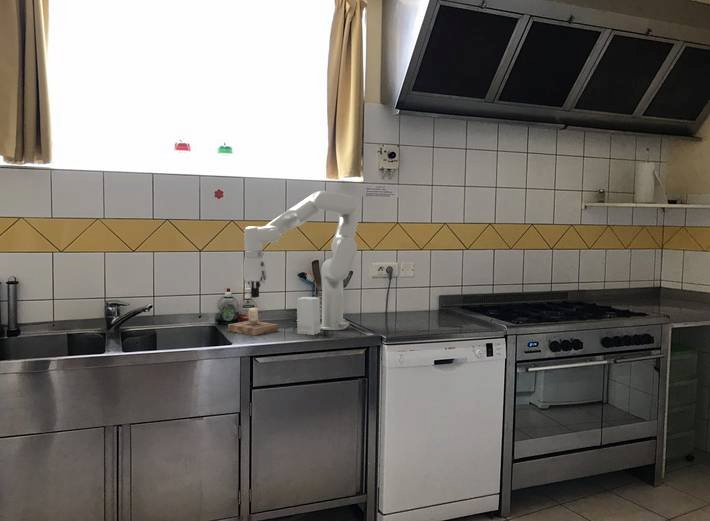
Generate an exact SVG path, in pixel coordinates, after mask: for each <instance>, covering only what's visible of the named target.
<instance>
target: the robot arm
mask: <svg viewBox="0 0 710 521" xmlns="http://www.w3.org/2000/svg"><path fill="white" fill-rule="evenodd" d="M357 210H358V200H357V198H355V197H354V196H352V195H350V194H344V193H339V192H332V191H328V190H319V191H318V190H317V191H315V192H313V193H311V194H310V195H309V196H307V197H305V198H304V199H302V200H301V201H300V202H298V203H296V204H295V205H294V206H292V207H291V208H288V210H286V211H285V212H283V213H282V214H280V215H279V216H277V217H276V218H275V219H273V220H271V221H270V222H269V223H267V224H265V225H264V226H259V225H258V226H255V225H253V226H249V225H248V226H246V227H245V228H244V229H243V230H244V232H243V233H244V234H243V235H244V237H243V238H244V260H243V267H242V268H243V269H242V270H243V271H242V273H243V274H242V275H243V280H244V283H245V284H247V285H248V286H249V288H250V294H251V295H250V298H254V299H255V298H259V297H260V288H261V285H265V283H266V282H265V281H267V279H268V273H267V265H266V261H265V258H264V257H263V256H264V252H263V243H268V244H269V243H270V244H275V243H277V242H278V241H279V240H280V239H281V237H282V235H283V234H284V233H286V232H288V231H290V230H291V229H294V228H297V227H299V226H302V225H303V224H305V223H306V222H308V221H309V220H310V219H312V218H314V217H315V216H317V215H318V214H319V213H320V212H322V211H326V212H330V213H336V214H337V216H338V225H337V228H336V230H335V234H334V237H333V239H332V241H331V244H330V245H331V246H330V248H331V251H332V254H333V255H332V258H331V257H330V258H327V259H326V260H324V262H323V263H322V266H321V267H320V268H321V269H320V270H321V271H320V272H321V273H320V274H321V285H322V286H321V291H322V292H321V323H320V330H323V331H343V330H346V329H347V327H349V325H350V321H346V318H345V317H344V280H345V279H347V277H349V274H350V272H351V269H352V266H353V263H354V260H355V259H356V258H355V257H356V255H357V250H358V245H357V242H356V240H355V237H356V232H357V229H358V223H359V218H358V214H357V212H356V211H357Z"/></svg>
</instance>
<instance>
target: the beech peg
mask: <svg viewBox="0 0 710 521" xmlns="http://www.w3.org/2000/svg"><path fill="white" fill-rule="evenodd" d="M248 321H249V324H248V325H250V326H256V325H258V321H259V308H257V307H248Z"/></svg>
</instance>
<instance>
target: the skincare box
mask: <svg viewBox="0 0 710 521" xmlns="http://www.w3.org/2000/svg"><path fill="white" fill-rule="evenodd" d="M320 301H321V298H320V297H316V296H302V297H297V298H296V317H297V318H296V321H297V322H296V323H297V324H296V325H297V326H296V327H297V334H298V335H306V334H307V336H316V335H318V333H319V334H321V329H320V324H321V304H320V303H321V302H320ZM315 334H316V335H315Z"/></svg>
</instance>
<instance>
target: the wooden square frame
mask: <svg viewBox="0 0 710 521" xmlns="http://www.w3.org/2000/svg"><path fill="white" fill-rule="evenodd" d="M248 324H249V320H245V321H242V322H241V321H240V322H236V323H235V322H233V323H230V324H228V325H227V328H228V329H227V332H229V331H232V332H231V333H235V332H237V334H241V333H243V335H247V334H249V335H248V336H253V335H256V336H260V335H259V334H261V335H265V334H264V333H266V334H270V333H269V332H271V333H275V332H274V331H276V332H278V330H279V324H278V323H271V322H264V321H259V320H258V325H256V326H250V325H248Z"/></svg>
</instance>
